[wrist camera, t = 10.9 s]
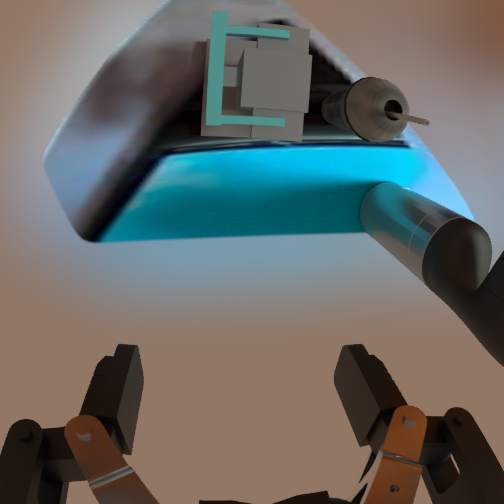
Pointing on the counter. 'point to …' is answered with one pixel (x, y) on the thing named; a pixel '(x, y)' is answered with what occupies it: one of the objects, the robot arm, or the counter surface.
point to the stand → (264, 85)
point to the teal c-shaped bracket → (217, 68)
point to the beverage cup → (370, 110)
